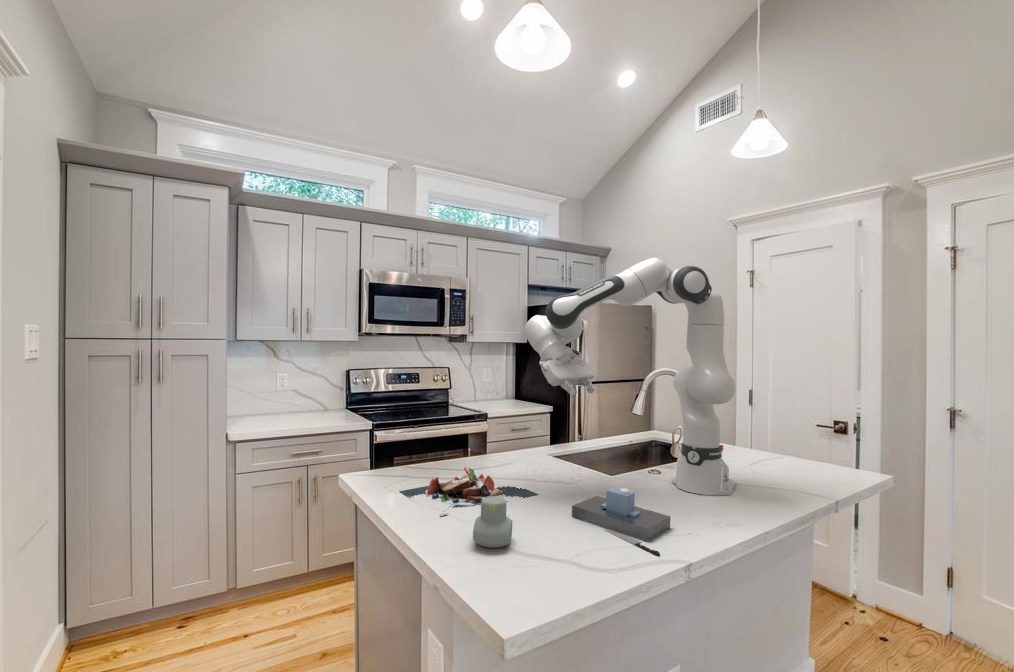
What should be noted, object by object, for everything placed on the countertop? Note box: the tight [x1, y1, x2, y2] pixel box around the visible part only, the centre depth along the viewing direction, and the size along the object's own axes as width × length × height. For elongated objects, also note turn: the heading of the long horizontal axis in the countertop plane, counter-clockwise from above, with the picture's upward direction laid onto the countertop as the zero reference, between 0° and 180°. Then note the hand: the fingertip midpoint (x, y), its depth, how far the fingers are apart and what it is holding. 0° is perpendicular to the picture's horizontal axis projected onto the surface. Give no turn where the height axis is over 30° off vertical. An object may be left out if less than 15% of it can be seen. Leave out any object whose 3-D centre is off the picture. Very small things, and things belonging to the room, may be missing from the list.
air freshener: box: [472, 496, 513, 549], centre depth 115 cm, size 11×8×10 cm
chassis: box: [571, 495, 671, 543], centre depth 130 cm, size 12×22×3 cm, turn 47°
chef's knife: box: [603, 528, 661, 557], centre depth 119 cm, size 19×1×3 cm
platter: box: [398, 466, 540, 518], centre depth 151 cm, size 35×27×9 cm
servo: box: [601, 487, 640, 517], centre depth 130 cm, size 4×10×9 cm, turn 47°
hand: (583, 393), depth 149 cm, fingers open, 8 cm apart
